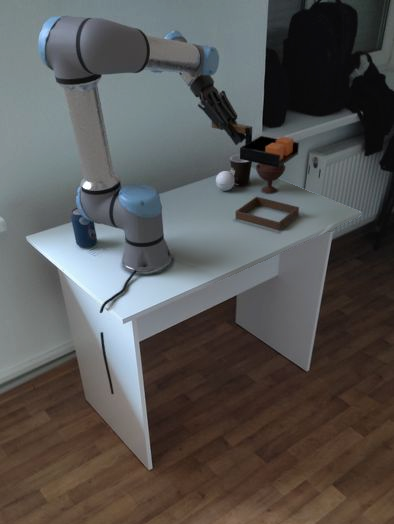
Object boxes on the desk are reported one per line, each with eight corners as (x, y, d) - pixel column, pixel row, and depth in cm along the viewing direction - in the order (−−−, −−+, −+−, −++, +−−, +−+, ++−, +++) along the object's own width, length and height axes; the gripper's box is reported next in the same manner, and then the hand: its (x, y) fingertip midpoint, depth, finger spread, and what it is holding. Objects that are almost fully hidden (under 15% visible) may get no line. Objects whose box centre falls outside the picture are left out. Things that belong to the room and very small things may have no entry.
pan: (202, 151, 169) (201, 126, 163) (224, 139, 177) (224, 115, 171) (278, 167, 156) (280, 140, 150) (298, 154, 164) (300, 128, 158)
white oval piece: (211, 189, 198) (211, 171, 194) (226, 184, 202) (226, 166, 197) (228, 197, 192) (228, 178, 187) (242, 192, 195) (243, 173, 191)
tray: (235, 220, 178) (235, 211, 175) (255, 205, 186) (256, 196, 184) (278, 232, 170) (279, 223, 167) (298, 216, 178) (299, 207, 176)
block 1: (264, 160, 158) (265, 146, 156) (271, 155, 161) (272, 142, 158) (276, 162, 156) (277, 148, 154) (283, 158, 159) (284, 144, 156)
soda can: (97, 248, 166) (91, 214, 158) (76, 250, 165) (69, 216, 158) (97, 238, 171) (91, 205, 163) (77, 240, 171) (70, 207, 163)
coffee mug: (252, 187, 199) (253, 162, 192) (230, 188, 199) (230, 162, 192) (250, 176, 207) (251, 151, 201) (229, 176, 208) (229, 152, 201)
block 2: (274, 153, 162) (275, 140, 160) (280, 149, 165) (281, 136, 162) (286, 156, 160) (287, 142, 158) (292, 152, 163) (293, 138, 160)
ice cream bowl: (283, 196, 191) (286, 156, 181) (253, 195, 193) (255, 156, 183) (284, 185, 199) (287, 146, 189) (255, 184, 201) (257, 146, 191)
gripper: (190, 76, 155) (236, 141, 158) (218, 66, 164) (260, 127, 167) (178, 93, 161) (221, 155, 164) (205, 82, 170) (246, 141, 173)
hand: (241, 141), depth 166 cm, fingers closed on pan, 2 cm apart
